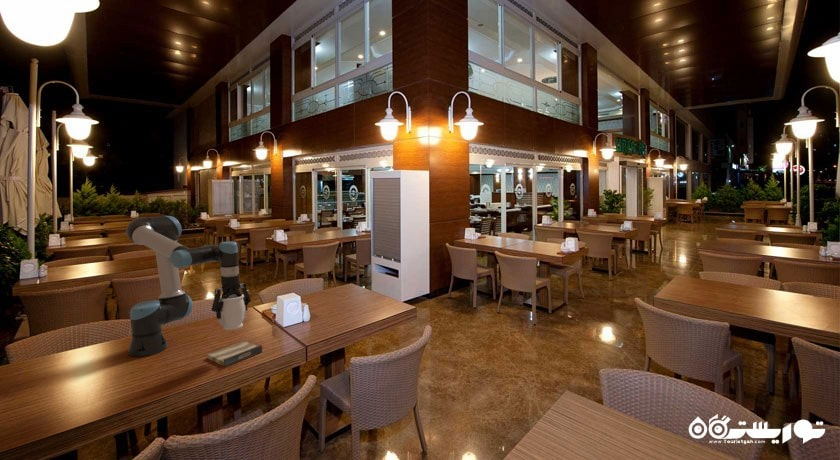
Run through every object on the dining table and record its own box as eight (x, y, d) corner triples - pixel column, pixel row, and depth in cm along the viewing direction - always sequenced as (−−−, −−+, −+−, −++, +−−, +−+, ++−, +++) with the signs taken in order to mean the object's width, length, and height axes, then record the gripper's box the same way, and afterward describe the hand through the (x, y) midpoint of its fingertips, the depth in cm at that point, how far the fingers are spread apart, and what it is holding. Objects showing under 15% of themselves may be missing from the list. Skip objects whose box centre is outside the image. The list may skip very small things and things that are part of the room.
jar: (250, 324, 178) (248, 293, 176) (235, 332, 168) (233, 299, 166) (231, 322, 180) (229, 292, 178) (215, 330, 170) (213, 298, 168)
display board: (207, 358, 172) (207, 351, 171) (243, 344, 187) (243, 338, 186) (225, 366, 163) (225, 360, 163) (262, 352, 178) (262, 345, 178)
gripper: (209, 281, 160) (212, 330, 162) (257, 271, 179) (259, 315, 181) (200, 279, 164) (203, 327, 166) (248, 269, 183) (250, 313, 185)
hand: (232, 321), depth 174 cm, fingers closed on jar, 10 cm apart
